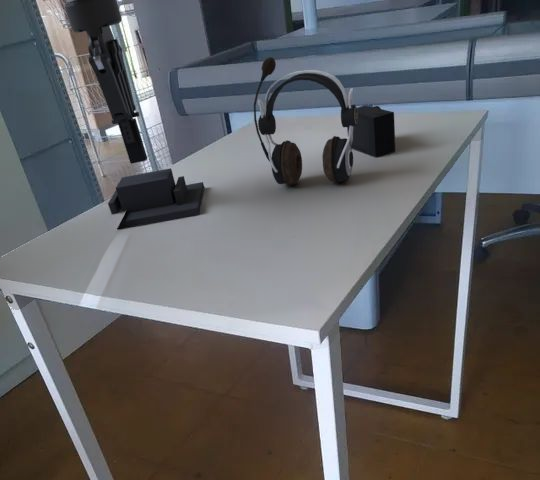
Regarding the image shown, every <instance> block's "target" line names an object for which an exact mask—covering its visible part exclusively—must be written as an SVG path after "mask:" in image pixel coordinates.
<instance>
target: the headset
mask: <svg viewBox="0 0 540 480" xmlns="http://www.w3.org/2000/svg"><path fill="white" fill-rule="evenodd" d="M276 66H277V64H276V59H274V57H271V56H269V57H267V58H265V59H264V61H263V62H262V65H261V77H260V81H259V85H258V87H257V89H256V93H255V97H254V101H253V121H254V126H255V131H256V134H257V137H258V139H259V141H260V146H261V148H262V151H263V153H264V155H265V157H266V159H267V161H268V162H269V163H270V167H271V172H272V176H273V178H274V180H275V183H277V185H286V186H287V188H288V187H289V188H290V187H293V186H294V185H296V184H297V183H299V181H300V180H301V179H300V178H301V176H302V173H303V157H302V152H301V150H300V148H299V147H298V145H297V144H296V142H291V140H288V139H287V140H284V141H282V142H281V143H277V142H276V141H274V140H273V138H272V135H275V133H276V131H277V130H276V129H277V121H276V117H275V115H274V114H273V112H274V105H275V103H276V100H277V97H278V95H279V94H280V92H281V91H282V90H283V88H284V87H285V86H286V85H288V84H290V83H293V82H295V81H310V82H315V83H316V84H319V85H321V86H323V87H324V88H326V89H327V90H328V91H329V92H330V93H331V94H332V95H333V96H334V97H335V99H336V100H337V102H338V103H339V106H340V122H341V127H342V128H347V127H349V134H348V133H347V138H346V137H344V138H341V137H340V136H338V135H337V136H336V135H333V136H332V138H329V139H327V141H326V142H325V144H324V147H323V150H322V169H323V174H324V176H325V178H326V179H327V180H328V182H331V183H333V184H334V185H338V184H339V183H340V182H341V181H348V180H349V179H350V177H351V176H352V171H353V167H354V166H353V165H354V154H353V149H352V148H351V144H352V140H353V127H354V126H356V124H357V122H358V110H357V108H358V106H357V105H356V104H354V103H353V102H354V101H353V93H354V88H353V87H351V88H350V90H349V92H348V96H347V92H346V89H345V87H344V85H343V84H342V82H341V81H340V80H339V78H338V77H336V76H335V75H333V74H331V73H330V72H327V71H323V70H317V69H305V70H298V71H293V72H289V73H288V74H285V75H284V76H281V77H280V78H278V79H276V80H275V81H274V82H273V83H272V84H271V85H269V88H268V89H267V92H266V94H265V97H264V98H265V99H264V102H263V101H262V99H260V98H259V99H258V97H259V93H260V90H261V87H262V84H263V82H265V80H266V78H267V77H268V76H271V75H272V74H273V73H274V72H275V70H276ZM286 78H288V79H286ZM284 79H285V81H284V82H282V83H281V84H280V85H278V86H277V88H275V89H274V91H273V92H272V93H271V91H272V89H273V88H274V86H275V85H277V84H278V82H280V81H281V80H284ZM270 94H271V95H270ZM257 105H258V107H259V111H260V115H259V117H258V121H257V107H256V106H257ZM261 135H262V136H264V139H265V140H266V144H267V147H266V145H265V142H264V141H263V139H262V136H261ZM349 141H350V142H349ZM271 145H274V148H273V150H272V152H271Z"/></svg>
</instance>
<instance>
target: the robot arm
mask: <svg viewBox="0 0 540 480" xmlns="http://www.w3.org/2000/svg"><path fill="white" fill-rule="evenodd" d="M65 1H66V3H65V6H64V10H65V14H66V16H67V19H68V22H69V25H70V29H71V30H72V31H73V32H74V33H76V34H77V33H83V32H86V35H87V40H88V44H89V45H87V50H88V53H89V56H88V63H89V65H90V66H91V69H92V71H93V73H94V74H95V77H96V80H97V83H98V84H99V85H98V86H99V88H100V90H101V92H102V95H103V97H104V100H105V103H106V105H107V108H108V111H109V114H110V116H111V119H112V120H111V125H117V126H118V128H119V131H120V135H121V138H122V141H123V144H124V147H125V151H126V154H127V157H128V160H129V164H136V163H142V162H146V161H147V160H148V156H147V152H146V149H145V146H144V142H143V139H142V135H141V132H140V129H139V125H138V121H137V119H136V118H137V117H140V111H136V110H137V107H136V105H135V101H134V96H133V92H132V89H131V88H132V87H131V85H130V81H129V76H128V72H127V69H126V64H125V61H124V54H123V48H122V46H121V45H120V43H119V40H118V39H117V38H115V36H114V34H113V31H112V28H111V26H115V25H118V24H120V23H122V20H123V19H122V15H121V11H120V8H119V4H118V0H65Z"/></svg>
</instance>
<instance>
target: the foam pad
mask: <svg viewBox="0 0 540 480" xmlns="http://www.w3.org/2000/svg"><path fill="white" fill-rule="evenodd" d="M175 181H176V180H175V177H174V173H173V170H172V168H164V169H159V170H155V171H148V172H144V173H139V174H133V175H128V176H122V177H121V178H120V180H119V182H118V184H117V185H116V187H115V191H117V194H118V197H119V200H120V203H121V208H122V211H125V213H128V212H134V211H139V210H145V209H150V208H156V207H161V206H166V205H172V204H174V203H175V200H176V198H175V194H174V189H175V186H176V182H175ZM125 213H124V214H125Z"/></svg>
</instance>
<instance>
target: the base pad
mask: <svg viewBox="0 0 540 480" xmlns="http://www.w3.org/2000/svg"><path fill="white" fill-rule="evenodd" d="M175 185H176V186H175V189H174V194H175V198H176V200H175V203H174V204H172V205H166V206H161V207H156V208H150V209H145V210H139V211H134V212H128V213H124V214H123V216H122V218H121V220H120V222H119V224H118V225H117V228H116V230H122V229H127V228H132V227H139V226H144V225H150V224H154V223H160V222H161V223H162V222H167V221H171V220H177V219H184V218H189V217H193V216H199V215H200V214H201V208H202V202H203V198H204V193H205V185H204V182H203V181H199V182H196V183H190V184H187V183H186V180H185V176H184V175H182V176H178V178H177V180H176V182H175ZM107 205H108V208H109V211H110V214H111V215H117V214H118V213H119V212H120V209H121V208H122V206H121V203H120V200H119V197H118V194H117V191H116V190H114V192H113V194H112V196H111V197H110V200H108V202H107Z"/></svg>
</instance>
